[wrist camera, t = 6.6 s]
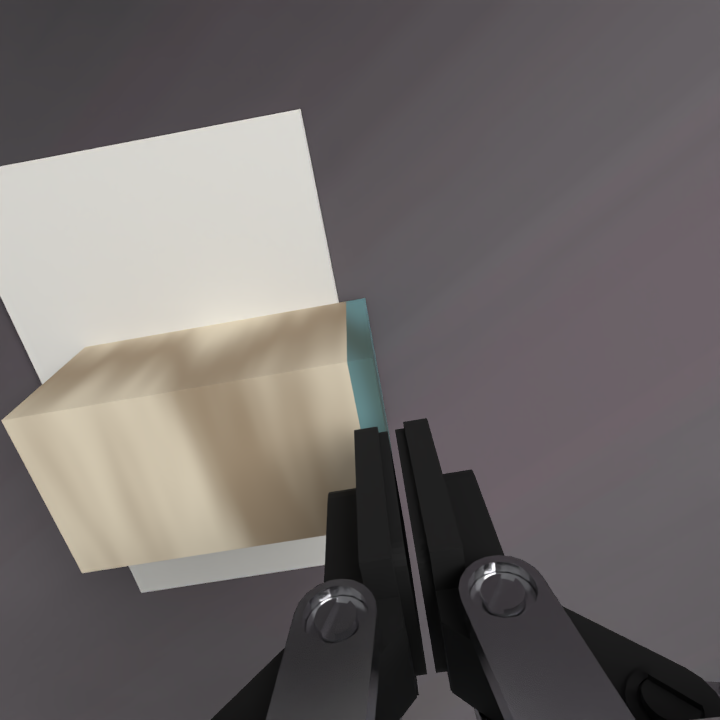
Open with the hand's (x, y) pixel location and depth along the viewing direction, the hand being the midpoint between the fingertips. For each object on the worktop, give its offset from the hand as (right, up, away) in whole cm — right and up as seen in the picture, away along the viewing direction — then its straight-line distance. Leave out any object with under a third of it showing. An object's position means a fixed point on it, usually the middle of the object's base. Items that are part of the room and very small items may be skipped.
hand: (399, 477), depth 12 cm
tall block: (0, +1, +3) cm, 4 cm away
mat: (-6, +2, +6) cm, 9 cm away
